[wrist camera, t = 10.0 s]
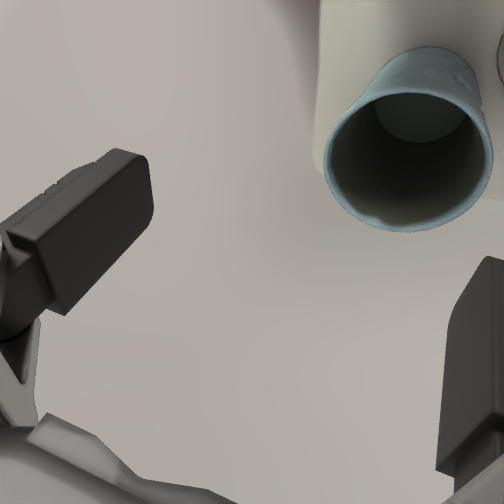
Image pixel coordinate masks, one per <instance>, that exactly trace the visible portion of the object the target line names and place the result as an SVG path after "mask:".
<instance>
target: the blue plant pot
mask: <svg viewBox="0 0 504 504" xmlns="http://www.w3.org/2000/svg"><path fill="white" fill-rule="evenodd" d="M481 104H482V103H481V97H480V94H479V88H478V83H477V80H476V77H475V75H474V73H473V71H472V70H471V68H470V66H469V65H468V64H467V63H466V62H465V61H464V60H463V59H462V58H460V57H459V56H458V55H456V54H455V53H452V52H450V51H448V50H445V49H441V48H435V47H422V48H416V49H412V50H409V51H406V52H404V53H401V54H399V55H398V56H396V57H395V58H393V59H392V60H390V61H389V62H388V63H387V64H385V65H384V66H383V67H382V68H381V70H380V71H379V72H378V73H377V75H376V76H375V77H374V78H373V80H372V81H371V83H370V84H369V85H368V87H367V88H366V89H365V90H364V91H363V93H362V95H361V96H360V97H359V98H358V99H357V100H356V101H355V102H354V103H353V104H352V105H351V106H350V107H349V108H348V110H347V111H346V112H345V113H344V114H343V115H342V117H341V118H340V119H339V121H338V122H337V123H336V125H335V126H334V128H333V130H332V132H331V134H330V136H329V138H328V141H327V144H326V147H325V151H324V159H323V162H324V173H325V178H326V181H327V184H328V186H329V188H330V190H331V192H332V194H333V196H334V197H335V199H336V200H337V201H338V202H339V203H340V205H341V206H342V207H343V208H344V209H345V210H346V211H347V212H348V213H350V214H351V215H353V216H354V217H355V218H357V219H359V220H360V221H362V222H364V223H366V224H368V225H370V226H373V227H376V228H379V229H383V230H388V231H393V232H416V231H424V230H429V229H432V228H435V227H438V226H441V225H443V224H445V223H448V222H450V221H452V220H454V219H455V218H457V217H459V216H460V215H462V214H464V213H465V212H466V211H467V210H468V209H470V208H471V207H472V206H473V205H474V203H475V202H476V201H477V200H478V199H479V197H480V196H481V194H482V193H483V191H484V189H485V188H486V186H487V183H488V181H489V178H490V175H491V172H492V167H493V147H492V141H491V138H490V134H489V131H488V128H487V125H486V122H485V116H484V113H483V112H482V111H481V108H480V107H481Z"/></svg>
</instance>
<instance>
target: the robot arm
mask: <svg viewBox="0 0 504 504" xmlns="http://www.w3.org/2000/svg"><path fill="white" fill-rule="evenodd" d="M153 210H154V204H153V197H152V189H151V181H150V172H149V165H148V161H147V159H146V158H145V157H144V156H142V155H139V154H135V153H132V152H128V151H124V150H121V149H118V148H114V149H112V150H110V151H109V152H107V153H106V154H105V155H104V156H102V157H101V158H100V159H98V160H97V161H96V162H92V163H89V164H87V165H84V166H81V167H79V168H76V169H74V170H72V171H71V172H69V173H68V174H66V175H65V176H64V177H62V178H61V179H60V180H58V181H57V184H53V185H52V186H50V187H49V188H48V189H46V190H45V192H44V194H42V193H41V194H40V195H38V196H37V197H35V198H34V199H33V200H31V201H30V202H29V203H27V204H26V205H25V206H23V207H22V208H21V209H19V210H18V211H17V212H15V213H14V214H13V215H11V216H10V217H9V218H7V219H6V220H4V221H3V222H2V223H0V504H237V503H235V502H233V501H231V500H229V499H227V498H225V497H222V496H220V495H218V494H216V493H214V492H212V491H210V490H207V489H202V488H196V487H190V486H184V485H177V484H171V483H165V482H158V481H152V480H146V479H143V478H141V477H139V476H137V475H136V474H135V473H134V472H133V471H132V470H131V469H130V468H129V467H128V466H127V465H126V464H124V463H123V462H122V461H121V460H120V459H119V458H118V457H117V456H116V455H115V454H114V453H113V452H112V451H111V450H110V449H109V448H108V447H107V446H106V445H104V443H103V442H102V441H101V440H100V439H99V438H97V436H95V435H93V434H91V433H89V432H87V431H85V430H83V429H81V428H79V427H77V426H75V425H72V424H70V423H68V422H66V421H64V420H62V419H60V418H58V417H55V416H54V415H52V414H49V413H46V414H45V416H44V417H43V418H42V419H41V421H40V422H39V423H38V415H37V410H36V406H35V400H34V386H35V376H36V365H37V356H38V346H39V336H40V327H41V323H40V319H39V317H38V316H39V315H40V314H41V313H42V312H43V311H44V310H45V309H48V310H51V311H53V312H56V313H58V314H61V315H63V316H65V315H66V314H67V313H68V312H69V311H70V310H71V309H72V308H73V307H74V306H75V304H76V303H77V302H78V301H79V300H80V299H81V298H82V297H83V296H84V295H85V294H86V293H87V292H88V290H89V289H90V288H91V287H92V286H93V285H94V284H95V283H96V282H97V281H98V280H99V279H100V278H101V276H102V275H103V274H104V273H105V272H106V271H107V270H108V269H109V268H110V267H111V266H112V265H113V264H114V263H115V262H116V260H117V259H118V258H119V257H120V256H121V255H122V254H123V253H124V252H125V251H126V250H127V249H128V248H129V246H130V245H131V244H132V243H133V242H134V241H135V240H136V239H137V238H138V237H139V236H140V235H141V234H142V233H143V231H144V230H145V229H146V228H147V227H148V225H149V223H150V221H151V219H152V216H153ZM436 471H439V472H441V473H444V474H446V475H449V476H451V477H453V478H454V494H453V495H452V496H451V497H450V498H448V499H447V500H446V501H445V502H444V503H442V504H504V260H501V259H498V258H494V257H491V256H487V257H485V258H484V259H483V260H482V262H481V263H480V265H479V266H478V268H477V270H476V271H475V273H474V274H473V276H472V278H471V279H470V281H469V283H468V284H467V286H466V288H465V289H464V291H463V292H462V294H461V296H460V297H459V299H458V301H457V303H456V304H455V306H454V309H453V311H452V314H451V317H450V320H449V324H448V331H447V342H446V353H445V365H444V378H443V388H442V401H441V412H440V423H439V435H438V446H437V458H436Z"/></svg>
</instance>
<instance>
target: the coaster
mask: <svg viewBox="0 0 504 504" xmlns="http://www.w3.org/2000/svg"><path fill="white" fill-rule="evenodd" d="M497 63H498V71H499V75H500V78H501V80H502V82H503V84H504V33H503V35H502V38H501V41H500V44H499V48H498V56H497Z"/></svg>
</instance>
